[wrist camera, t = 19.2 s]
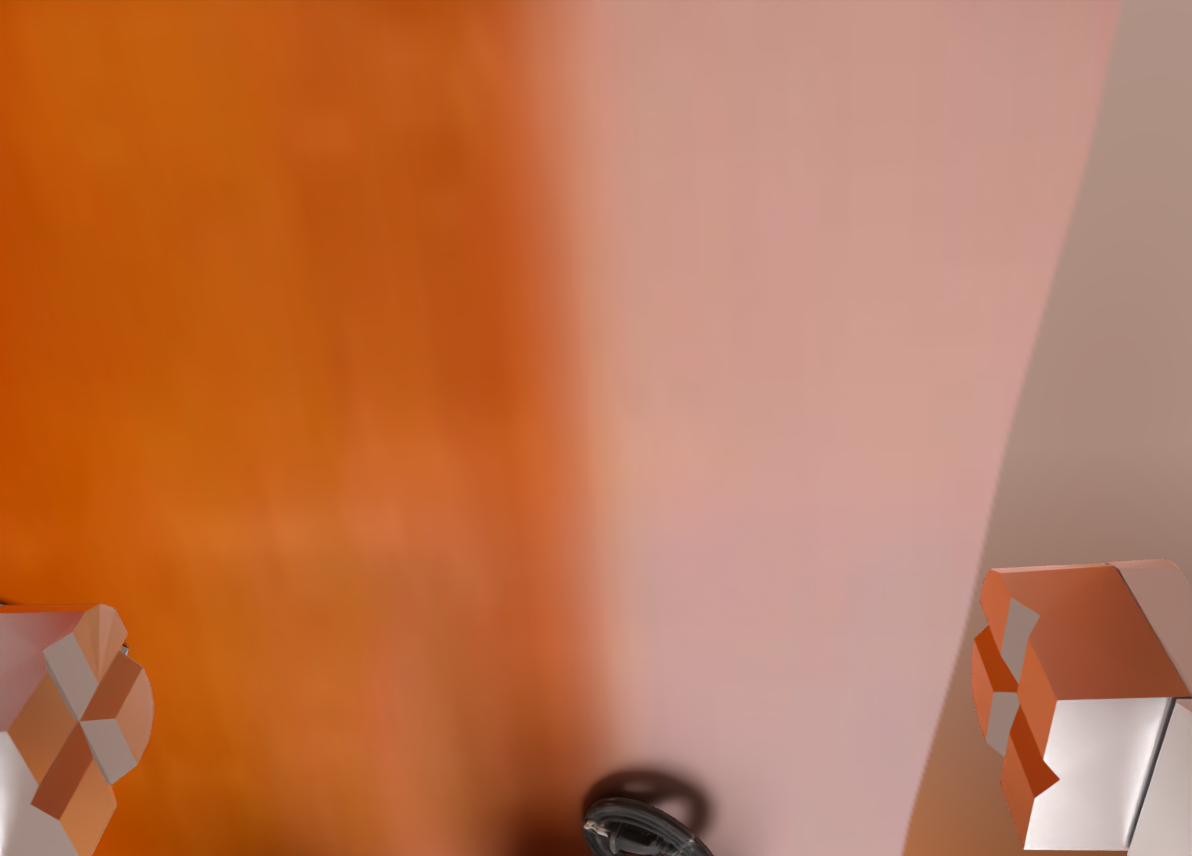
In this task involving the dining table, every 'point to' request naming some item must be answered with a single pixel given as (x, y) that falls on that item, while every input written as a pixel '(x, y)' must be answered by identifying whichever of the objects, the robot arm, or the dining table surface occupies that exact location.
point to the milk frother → (637, 830)
